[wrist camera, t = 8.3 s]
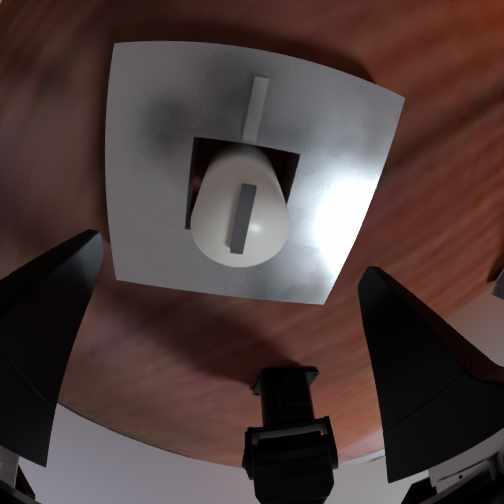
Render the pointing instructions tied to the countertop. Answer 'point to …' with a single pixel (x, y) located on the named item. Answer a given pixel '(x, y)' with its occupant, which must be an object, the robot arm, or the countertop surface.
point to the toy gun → (499, 286)
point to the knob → (240, 208)
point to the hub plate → (243, 131)
